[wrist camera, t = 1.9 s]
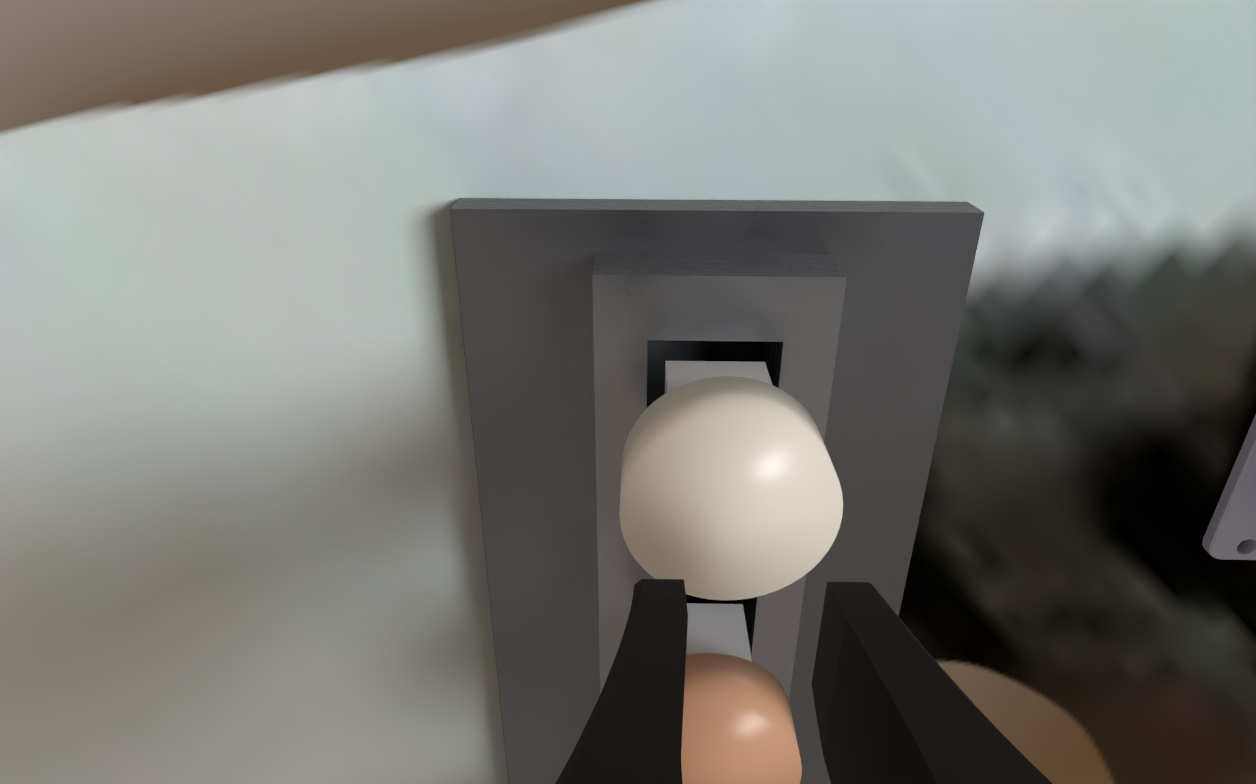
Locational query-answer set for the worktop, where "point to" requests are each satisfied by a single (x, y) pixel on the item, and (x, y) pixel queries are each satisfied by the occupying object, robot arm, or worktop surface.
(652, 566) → the cream knob
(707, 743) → the terracotta knob
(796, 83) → the worktop surface
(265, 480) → the worktop surface
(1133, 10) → the worktop surface
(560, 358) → the switch panel
